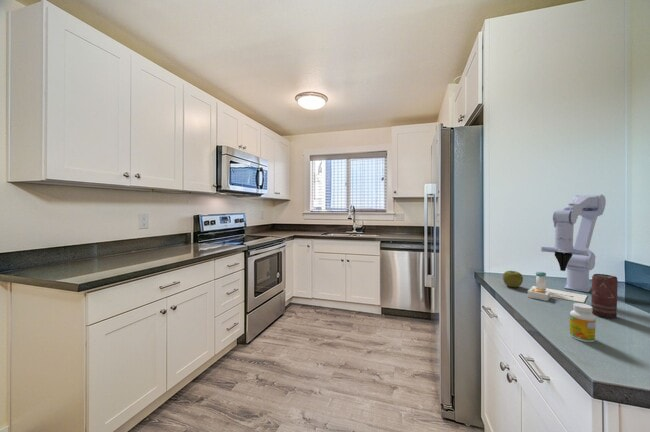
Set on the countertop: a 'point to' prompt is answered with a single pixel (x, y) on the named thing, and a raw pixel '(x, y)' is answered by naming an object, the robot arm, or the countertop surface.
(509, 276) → the apple
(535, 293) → the button housing
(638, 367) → the countertop surface
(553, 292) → the paper
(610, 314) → the can
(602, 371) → the countertop surface
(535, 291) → the button
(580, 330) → the supplement bottle
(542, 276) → the marker
